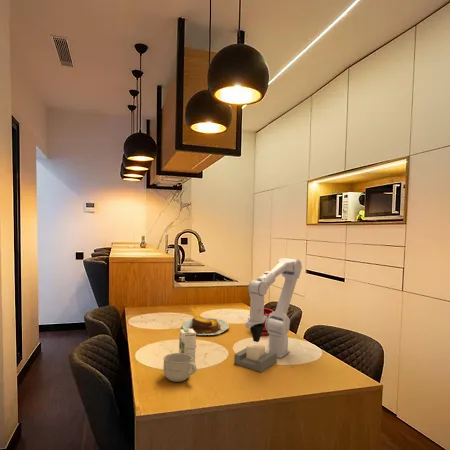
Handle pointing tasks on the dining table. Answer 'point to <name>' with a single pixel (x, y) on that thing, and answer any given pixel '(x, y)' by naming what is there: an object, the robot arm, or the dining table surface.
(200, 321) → the food on plate
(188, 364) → the teacup
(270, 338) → the robot arm
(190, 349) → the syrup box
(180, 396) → the dining table surface
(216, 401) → the dining table surface
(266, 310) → the plant pot
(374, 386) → the dining table surface
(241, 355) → the socket
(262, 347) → the cream cube
